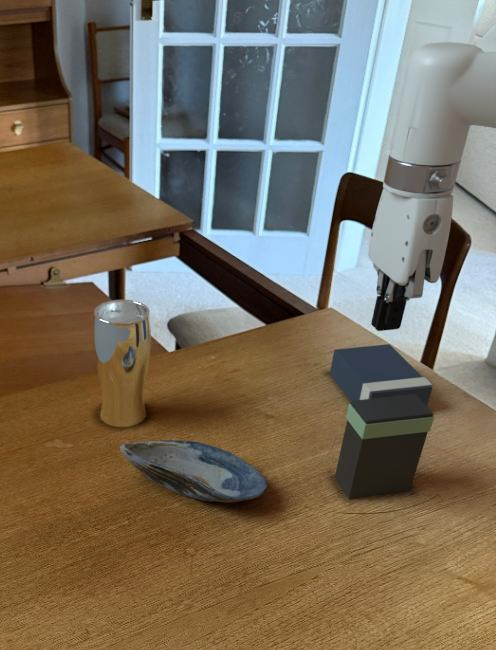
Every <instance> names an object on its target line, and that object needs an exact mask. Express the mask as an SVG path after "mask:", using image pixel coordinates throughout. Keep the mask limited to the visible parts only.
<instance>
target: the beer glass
mask: <svg viewBox="0 0 496 650" xmlns="http://www.w3.org/2000/svg"><path fill="white" fill-rule="evenodd" d="M150 318H151V317H150V308H149V307H148V306H147V305H146V304H145V303H143V302H140V301H137V300H133V299H132V300H131V299H113V300H108V301H105V302H102V303H100V304H99V305H98V306H96V307H95V308H94V310H93V329H92V330H93V334H92V335H93V336H92V337H93V338H92V340H93V341H92V344H93V355H94V362H95V366H96V367H95V368H96V373H97V376H98V380H99V384H100V389H101V397H102V399H101V400H102V402H101V410H100V415H99V416H100V420H101V421H102V422H104V423H105V424H107V425H109V426H112V427H117V428H128V427H133V426H136V425H138V424H140V423H141V422H143V421H144V420H145V419H146V416H147V411H146V407H145V399H144V393H145V386H146V381H147V377H148V372H149V365H150V360H151V359H150V358H151V352H152V351H151V350H152V349H151V348H152V331H151V319H150Z"/></svg>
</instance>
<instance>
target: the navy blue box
mask: <svg viewBox="0 0 496 650" xmlns="http://www.w3.org/2000/svg"><path fill="white" fill-rule="evenodd" d="M329 375H330V376H331V377H332V379H333V381H335V383H336V384H337V385H338V387H340V389H341V390H342V391H343V393H344V394H345V395H346V397H348V399H349V401H350V402H351V401H355V400H364V399H373V398H382V397H391V396H400V395H409V394H416V395H417V397H418V398H419V399H420V400H421V401H422V402H423V403H424V404H425V405H426V406H427V407H428V404H429V401H430V398H431V394H432V391H433V384H432V382H431V381H430V380H428V379H427V377H425V376H422V374H420V373H419V372H418V371H417V370H416V369H415V368H414V367H413V366H412V365H411V364H410V363H409V362H408V361H407V360H406V359H405V358H404V357H403V356H402V355H401V354H400V353H399V352H398V351H397V350H396V349H395V348H394V347H393V346H392V345H391V344H389V343H386V344H377V345H367V346H357V347H347V348H338V349H337V348H336V349H334V350H333V354H332V361H331V365H330V371H329Z"/></svg>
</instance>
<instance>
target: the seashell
mask: <svg viewBox="0 0 496 650" xmlns="http://www.w3.org/2000/svg"><path fill="white" fill-rule="evenodd" d="M119 451H120V452H121V455H122V456H123V457H124V458H125V459H126V460H127V462H129V463H130V465H132V467H134V468H135V469H136V470H137V471H138V472H139V473H141V474H142V475H143V476H145V477H146V478H147V479H148V480H150V481H152V482H153V483H155V484H156V485H159V486H161V487H164V488H165V489H168V490H170V491H172V492H174V493H176V494H178V495H181V496H183V497H187V498H190V499H194V500H198V501H203V502H219V503H237V502H240V501H249V500H253V499H257V498H259V497H261V496H262V495H263V494H264V493H265V491H267V489H268V482H267V479H266V477H265V475H264V474H263V473H261V472H260V471H259V470H258V469H256V468H255V467H254V466H253V465H251V464H249V462H247V461H245V460H244V459H243V458H240V457H239V456H237V455H235V454H234V453H233V452H230V451H228V450H224V449H222V448H220V447H216V446H214V445H211V444H207V443H203V442H198V441H192V440H184V439H179V440H178V439H176V440H175V439H173V440H171V439H159V440H158V439H157V440H156V439H153V440H148V441H135V442H125V443H122V444H121V445H119ZM199 478H200V479H202V480H203V481H202V480H200V479H199ZM205 482H206V483H205ZM207 483H208V484H207Z"/></svg>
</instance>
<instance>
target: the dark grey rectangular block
mask: <svg viewBox="0 0 496 650" xmlns="http://www.w3.org/2000/svg"><path fill="white" fill-rule="evenodd" d="M434 418H435V417H434V412H433V411H432V410H431V409H430V408H429V407H428V405H427V406H426V405H425V404H424V403H423V402H422V401H421V400H420V399H419V398H418V397H417V395H416V394H409V395H400V396H391V397H382V398H373V399H364V400H355V401H351V400H350V403H348V406H347V409H346V416H345V419H346V423H345V427H344V428H345V429H344V432H343V436H342V442H341V447H340V451H339V456H338V460H337V465H336V470H335V474H334V479H335V481H336V482H337V484H338V485H339V487H340V488H341V489H342V491H343V493H344V494H345V496H346V497H347V500H352V499H360V498H369V497H377V496H384V495H385V496H386V495H393V494H402V493H409V492H411V489H412V486H413V484H414V483H413V482H414V479H415V476H416V473H417V469H418V466H419V463H420V460H421V456H422V452H423V449H424V446H425V442H426V441H427V440H426V439H427V436H428V433H429V432H431V429H432V426H433V422H434Z"/></svg>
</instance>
